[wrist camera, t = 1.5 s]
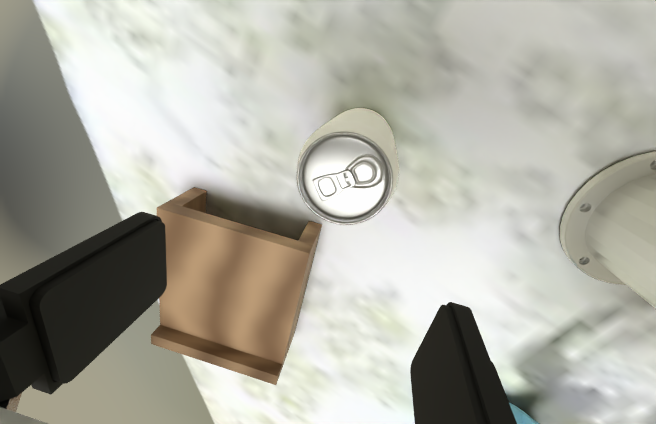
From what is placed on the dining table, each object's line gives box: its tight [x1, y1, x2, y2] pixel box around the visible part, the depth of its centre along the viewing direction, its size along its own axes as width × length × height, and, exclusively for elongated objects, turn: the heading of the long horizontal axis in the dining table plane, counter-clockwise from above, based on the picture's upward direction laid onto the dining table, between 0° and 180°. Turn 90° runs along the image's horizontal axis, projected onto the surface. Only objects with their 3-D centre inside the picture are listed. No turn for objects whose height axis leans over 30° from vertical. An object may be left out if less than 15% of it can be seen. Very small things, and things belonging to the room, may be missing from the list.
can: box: [297, 108, 399, 225], centre depth 22 cm, size 6×6×12 cm
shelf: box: [151, 187, 322, 385], centre depth 32 cm, size 15×17×8 cm
